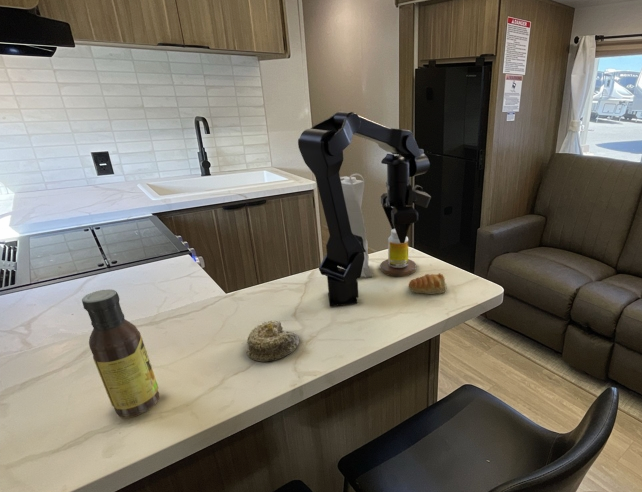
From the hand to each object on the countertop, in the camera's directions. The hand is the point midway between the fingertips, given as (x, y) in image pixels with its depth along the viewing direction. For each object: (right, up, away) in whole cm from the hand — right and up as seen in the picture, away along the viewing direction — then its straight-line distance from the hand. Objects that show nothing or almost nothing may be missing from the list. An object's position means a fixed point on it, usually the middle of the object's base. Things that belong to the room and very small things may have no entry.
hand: (398, 236), depth 110 cm
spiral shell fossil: (-23, -24, -31) cm, 45 cm away
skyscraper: (-12, -10, 0) cm, 16 cm away
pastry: (+8, -14, -7) cm, 18 cm away
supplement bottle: (0, -8, +3) cm, 9 cm away
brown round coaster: (0, -9, +4) cm, 10 cm away
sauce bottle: (-39, -30, -45) cm, 67 cm away
